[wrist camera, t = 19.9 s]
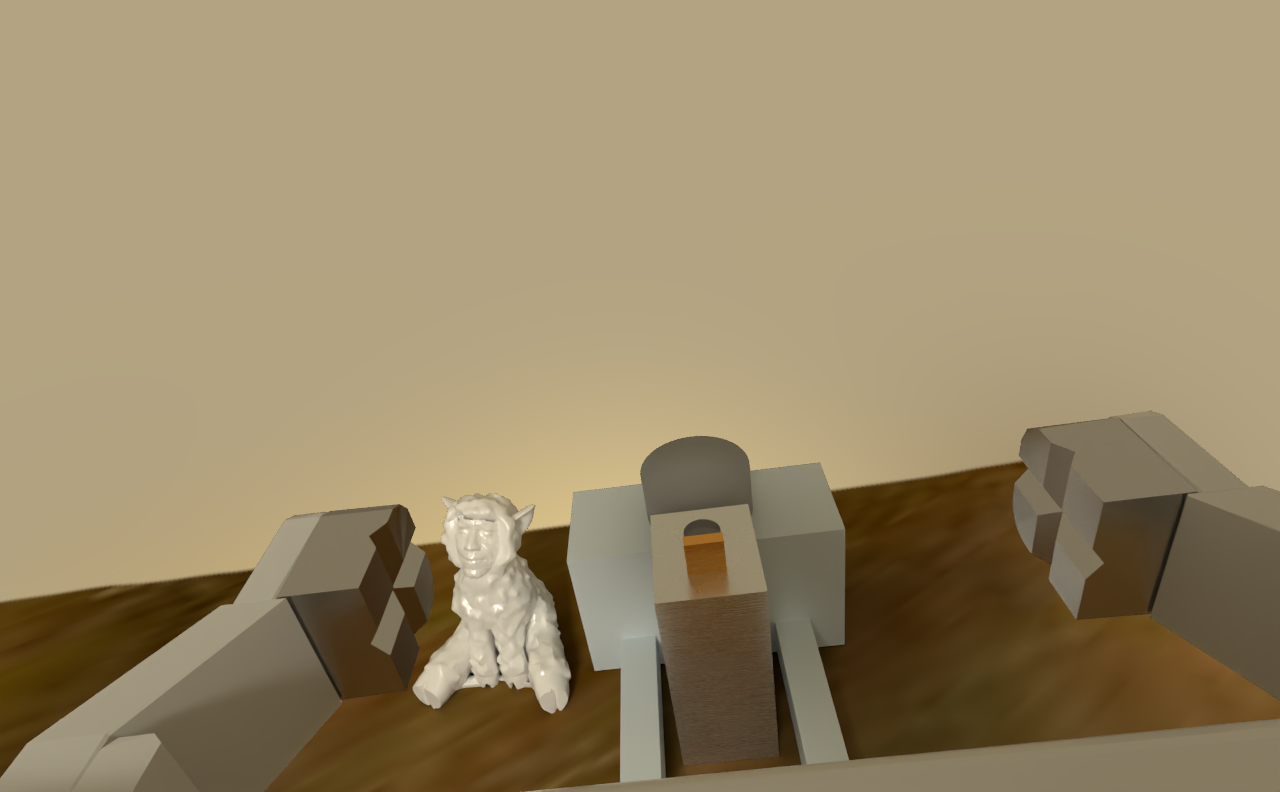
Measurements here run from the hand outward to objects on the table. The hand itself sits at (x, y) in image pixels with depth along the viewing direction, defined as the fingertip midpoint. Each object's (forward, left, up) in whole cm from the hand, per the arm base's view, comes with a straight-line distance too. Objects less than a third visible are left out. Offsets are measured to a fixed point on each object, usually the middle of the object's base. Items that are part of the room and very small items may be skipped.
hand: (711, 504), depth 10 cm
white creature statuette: (-13, +24, -30) cm, 41 cm away
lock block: (0, +18, -30) cm, 35 cm away
